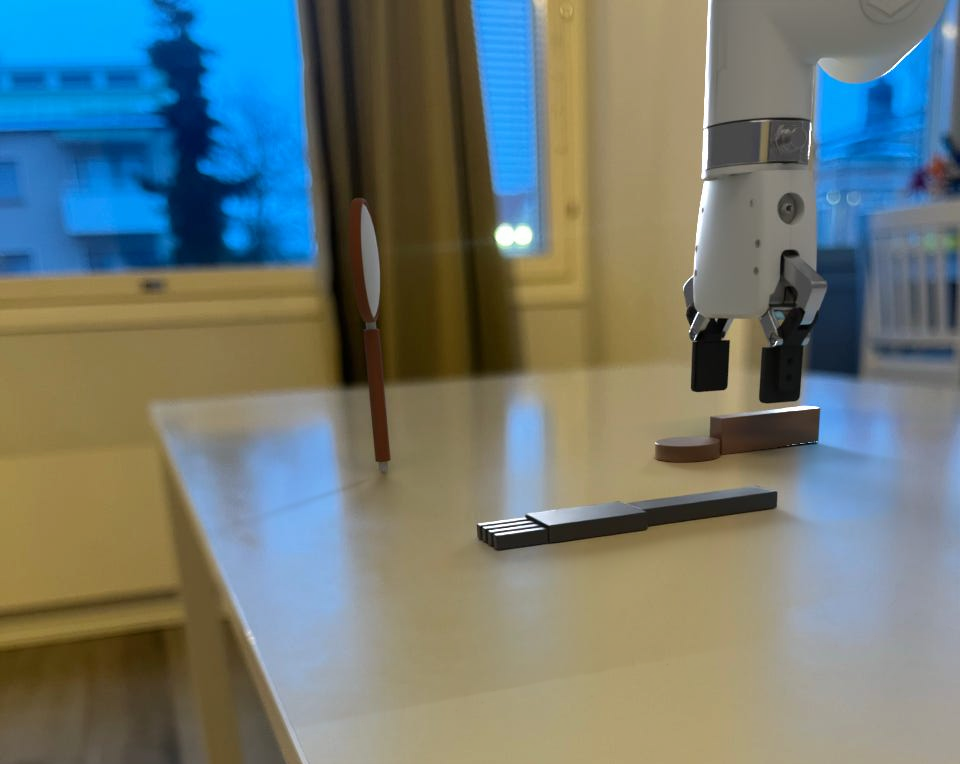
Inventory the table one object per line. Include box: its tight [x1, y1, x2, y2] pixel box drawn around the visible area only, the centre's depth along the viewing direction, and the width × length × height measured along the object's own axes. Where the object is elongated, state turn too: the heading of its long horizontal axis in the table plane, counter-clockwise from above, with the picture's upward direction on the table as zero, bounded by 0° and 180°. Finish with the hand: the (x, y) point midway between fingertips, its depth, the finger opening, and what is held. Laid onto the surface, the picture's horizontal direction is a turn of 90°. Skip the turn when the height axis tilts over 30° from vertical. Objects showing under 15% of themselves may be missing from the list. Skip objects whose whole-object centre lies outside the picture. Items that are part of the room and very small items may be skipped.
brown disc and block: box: [654, 405, 821, 463], centre depth 78 cm, size 14×5×3 cm, turn 109°
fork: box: [476, 485, 778, 551], centre depth 57 cm, size 18×4×1 cm, turn 109°
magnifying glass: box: [348, 197, 391, 475], centre depth 75 cm, size 9×2×20 cm, turn 177°
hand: (742, 396), depth 78 cm, fingers open, 9 cm apart
